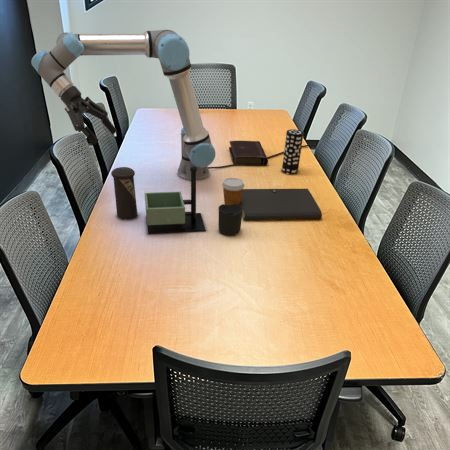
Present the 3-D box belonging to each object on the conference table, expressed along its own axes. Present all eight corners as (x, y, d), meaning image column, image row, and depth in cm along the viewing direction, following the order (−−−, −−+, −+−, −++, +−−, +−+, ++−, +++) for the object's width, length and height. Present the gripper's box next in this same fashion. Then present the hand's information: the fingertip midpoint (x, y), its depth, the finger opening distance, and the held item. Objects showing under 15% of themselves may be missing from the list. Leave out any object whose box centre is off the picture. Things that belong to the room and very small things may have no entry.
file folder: (307, 187, 210) (322, 212, 191) (306, 195, 213) (320, 221, 194) (237, 188, 206) (244, 213, 188) (236, 196, 209) (244, 222, 190)
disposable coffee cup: (245, 205, 202) (247, 179, 195) (238, 214, 195) (240, 188, 187) (225, 201, 204) (226, 175, 197) (217, 210, 197) (218, 184, 190)
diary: (260, 149, 259) (260, 140, 256) (267, 166, 240) (268, 156, 237) (227, 149, 257) (227, 140, 254) (232, 166, 238) (233, 156, 235)
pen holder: (233, 239, 178) (234, 216, 172) (213, 232, 182) (213, 209, 176) (245, 229, 184) (247, 207, 178) (225, 223, 188) (226, 200, 182)
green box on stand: (200, 214, 193) (201, 158, 178) (205, 231, 182) (206, 172, 167) (146, 217, 189) (142, 159, 175) (148, 234, 178) (143, 174, 163)
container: (133, 222, 185) (129, 175, 173) (112, 219, 187) (107, 172, 174) (141, 212, 192) (137, 166, 180) (120, 209, 193) (116, 164, 181)
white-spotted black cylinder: (279, 172, 233) (284, 133, 221) (284, 167, 239) (289, 128, 227) (295, 175, 231) (301, 136, 219) (299, 170, 237) (305, 131, 225)
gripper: (80, 91, 186) (116, 134, 191) (41, 105, 167) (82, 153, 172) (90, 78, 181) (127, 123, 187) (51, 92, 162) (93, 141, 168)
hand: (106, 137), depth 180 cm, fingers open, 13 cm apart
